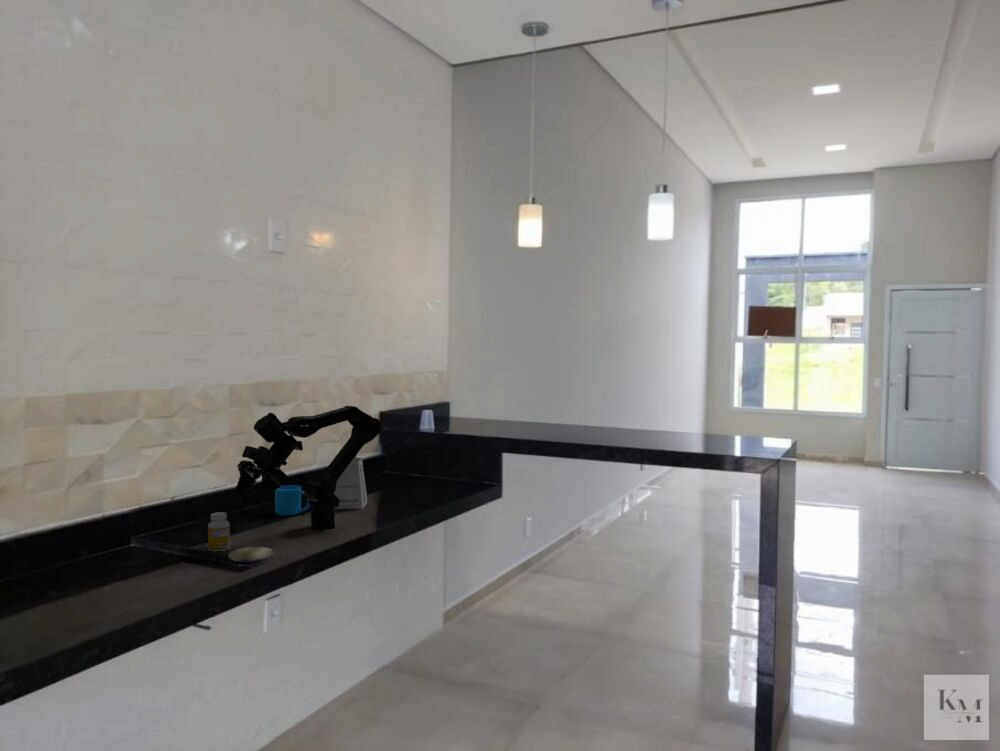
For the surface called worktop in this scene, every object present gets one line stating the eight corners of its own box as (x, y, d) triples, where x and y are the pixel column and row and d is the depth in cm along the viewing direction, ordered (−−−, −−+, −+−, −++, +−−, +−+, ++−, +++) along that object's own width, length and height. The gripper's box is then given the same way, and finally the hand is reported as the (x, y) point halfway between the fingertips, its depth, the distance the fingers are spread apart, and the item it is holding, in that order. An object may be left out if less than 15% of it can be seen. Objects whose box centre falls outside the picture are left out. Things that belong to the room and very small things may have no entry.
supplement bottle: (212, 547, 198) (211, 511, 197) (232, 546, 198) (231, 511, 198) (205, 552, 192) (205, 516, 192) (226, 552, 193) (226, 516, 192)
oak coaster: (274, 549, 196) (274, 545, 195) (270, 561, 185) (270, 557, 185) (231, 551, 193) (231, 548, 193) (225, 564, 182) (225, 560, 182)
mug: (270, 514, 235) (270, 489, 234) (283, 509, 243) (282, 484, 242) (304, 516, 232) (304, 491, 232) (316, 510, 240) (316, 486, 240)
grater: (367, 501, 254) (367, 444, 253) (362, 508, 243) (362, 449, 242) (337, 502, 253) (336, 444, 252) (331, 509, 243) (330, 449, 242)
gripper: (243, 432, 209) (206, 475, 202) (278, 438, 197) (241, 484, 189) (268, 456, 216) (233, 499, 208) (304, 463, 203) (268, 509, 196)
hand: (243, 497), depth 200 cm, fingers open, 9 cm apart
